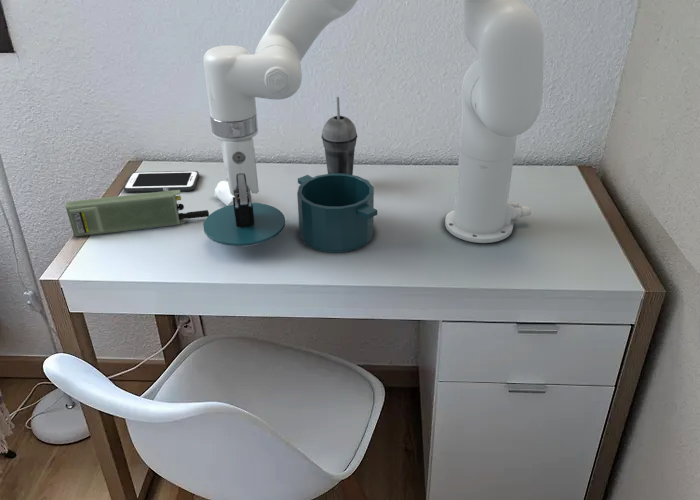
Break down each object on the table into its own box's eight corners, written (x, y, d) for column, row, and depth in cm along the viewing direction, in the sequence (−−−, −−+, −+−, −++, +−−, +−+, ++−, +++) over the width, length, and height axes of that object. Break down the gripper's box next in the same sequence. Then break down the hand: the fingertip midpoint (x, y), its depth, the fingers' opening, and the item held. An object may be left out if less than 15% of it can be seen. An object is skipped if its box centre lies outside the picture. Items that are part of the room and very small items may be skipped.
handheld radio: (75, 229, 125) (209, 214, 129) (73, 239, 122) (209, 223, 126) (66, 199, 121) (204, 184, 125) (64, 208, 118) (205, 193, 123)
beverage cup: (359, 180, 141) (358, 89, 130) (356, 196, 135) (355, 102, 124) (325, 178, 142) (322, 88, 131) (321, 194, 135) (317, 101, 125)
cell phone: (132, 176, 143) (131, 172, 143) (199, 174, 144) (199, 170, 143) (123, 192, 137) (122, 188, 136) (193, 191, 137) (193, 186, 137)
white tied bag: (257, 212, 132) (231, 185, 137) (253, 188, 127) (226, 161, 132) (236, 224, 130) (211, 195, 135) (231, 200, 125) (205, 171, 130)
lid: (254, 200, 128) (252, 173, 124) (302, 228, 118) (300, 200, 115) (188, 226, 119) (184, 198, 116) (234, 259, 110) (230, 229, 107)
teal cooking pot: (330, 203, 132) (329, 162, 127) (398, 239, 120) (400, 195, 116) (276, 227, 125) (273, 184, 120) (343, 267, 113) (343, 222, 108)
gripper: (262, 141, 102) (270, 241, 112) (252, 105, 116) (260, 198, 125) (213, 145, 101) (226, 246, 111) (209, 109, 114) (221, 202, 124)
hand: (244, 220), depth 118 cm, fingers closed on lid, 2 cm apart
